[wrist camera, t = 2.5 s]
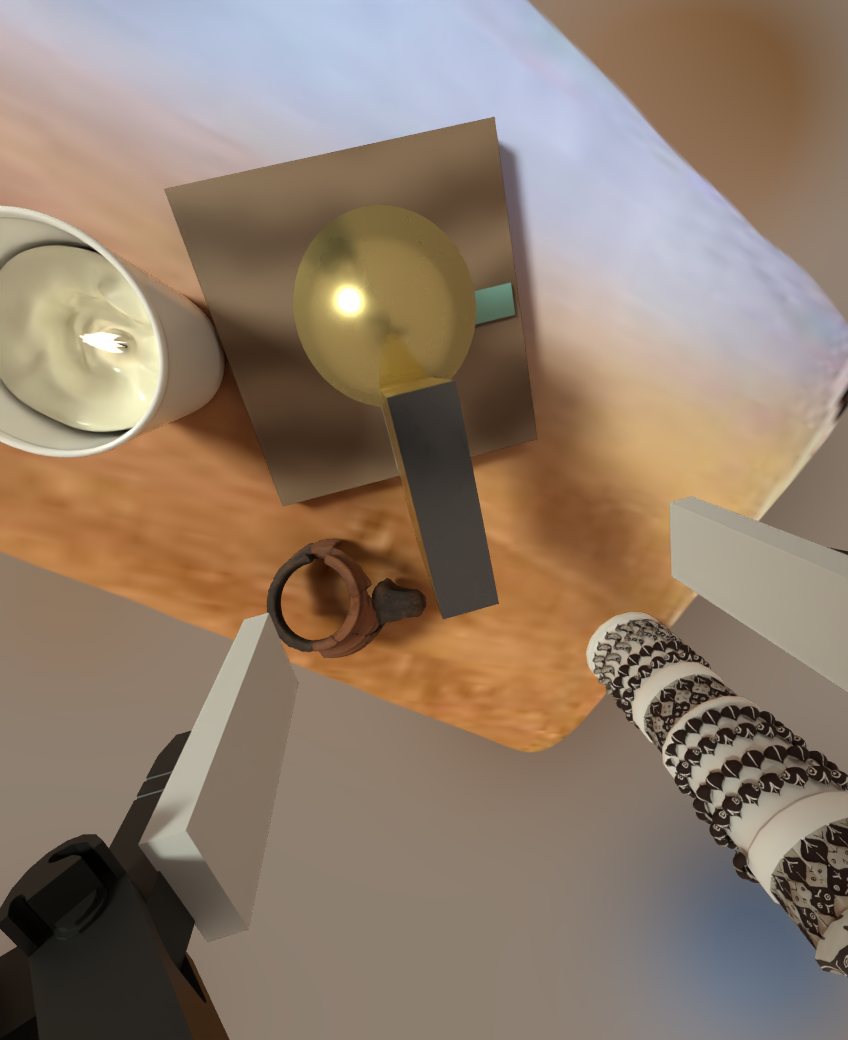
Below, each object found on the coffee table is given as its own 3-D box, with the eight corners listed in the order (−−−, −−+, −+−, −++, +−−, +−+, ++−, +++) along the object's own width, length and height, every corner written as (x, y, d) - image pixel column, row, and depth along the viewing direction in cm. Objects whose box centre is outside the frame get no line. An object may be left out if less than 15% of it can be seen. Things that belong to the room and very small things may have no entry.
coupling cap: (276, 245, 19) (221, 163, 12) (445, 206, 20) (501, 102, 12) (371, 554, 25) (376, 638, 17) (500, 518, 26) (563, 585, 18)
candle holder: (261, 329, 30) (201, 303, 18) (203, 451, 32) (117, 495, 20) (112, 238, 27) (-66, 141, 16) (59, 378, 29) (-133, 383, 18)
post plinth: (177, 201, 27) (80, 112, 17) (485, 133, 28) (549, 15, 18) (286, 498, 34) (259, 548, 24) (527, 435, 35) (589, 460, 26)
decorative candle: (659, 677, 46) (969, 996, 23) (578, 689, 45) (816, 1037, 22) (673, 603, 43) (1048, 885, 20) (586, 613, 42) (874, 926, 18)
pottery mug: (309, 648, 39) (259, 673, 31) (301, 546, 40) (251, 543, 32) (438, 638, 37) (421, 661, 29) (427, 531, 38) (406, 524, 30)
